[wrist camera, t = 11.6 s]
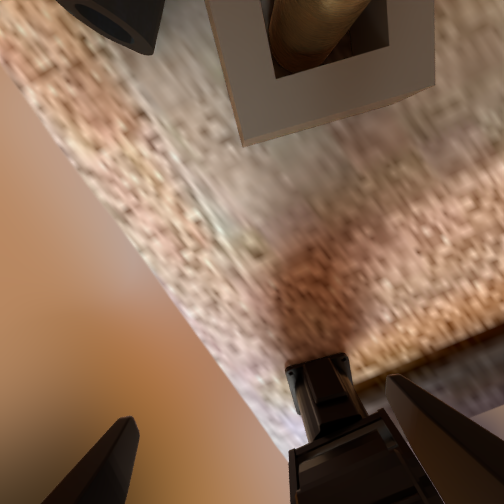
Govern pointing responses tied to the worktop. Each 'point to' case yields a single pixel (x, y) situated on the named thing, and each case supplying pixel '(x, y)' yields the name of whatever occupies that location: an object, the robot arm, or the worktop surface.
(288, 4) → the brown round cylinder
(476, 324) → the worktop surface
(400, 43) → the docking block
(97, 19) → the pipe connector
